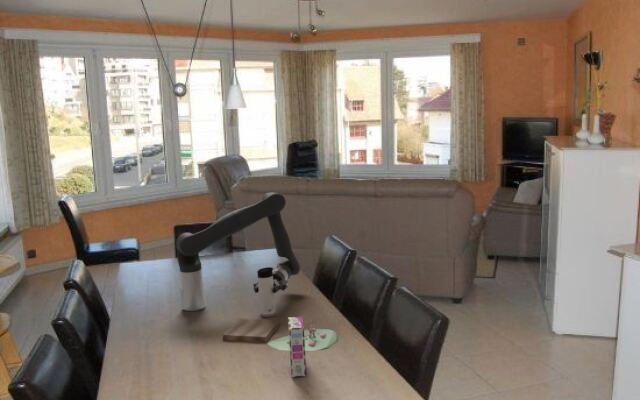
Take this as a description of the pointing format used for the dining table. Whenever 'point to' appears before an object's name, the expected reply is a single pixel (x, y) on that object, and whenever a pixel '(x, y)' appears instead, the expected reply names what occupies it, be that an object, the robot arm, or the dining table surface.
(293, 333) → the candy bar box
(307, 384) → the dining table surface
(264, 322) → the walnut board
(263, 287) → the travel mug
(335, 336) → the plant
